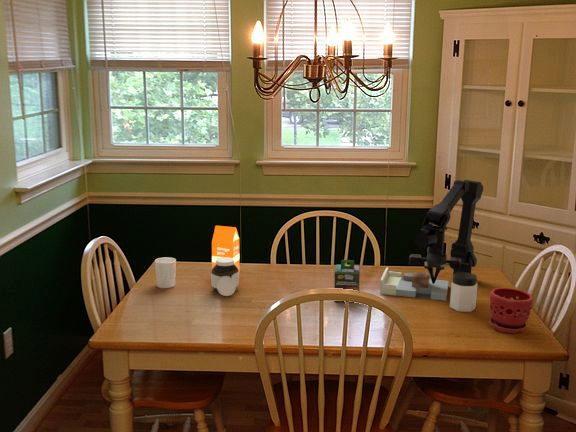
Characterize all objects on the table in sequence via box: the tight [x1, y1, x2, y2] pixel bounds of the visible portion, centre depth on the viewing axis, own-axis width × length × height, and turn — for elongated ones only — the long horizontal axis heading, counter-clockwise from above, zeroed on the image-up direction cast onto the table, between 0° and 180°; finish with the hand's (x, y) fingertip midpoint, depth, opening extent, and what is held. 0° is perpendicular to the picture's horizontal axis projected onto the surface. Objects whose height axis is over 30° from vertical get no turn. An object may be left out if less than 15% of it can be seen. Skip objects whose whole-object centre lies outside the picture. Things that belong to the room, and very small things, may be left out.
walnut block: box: [412, 271, 430, 288], centre depth 254 cm, size 6×6×4 cm
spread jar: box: [210, 257, 240, 297], centre depth 250 cm, size 12×11×12 cm
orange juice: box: [211, 225, 241, 271], centre depth 268 cm, size 8×9×20 cm
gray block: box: [402, 272, 413, 281], centre depth 261 cm, size 4×4×4 cm
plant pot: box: [489, 287, 534, 334], centre depth 220 cm, size 13×13×12 cm
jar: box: [449, 272, 478, 313], centre depth 237 cm, size 9×8×12 cm
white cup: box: [154, 256, 177, 289], centre depth 255 cm, size 8×8×10 cm
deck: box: [379, 266, 449, 302], centre depth 255 cm, size 24×16×6 cm, turn 74°
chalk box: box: [333, 259, 361, 303], centre depth 245 cm, size 9×9×15 cm
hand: (433, 283), depth 253 cm, fingers closed
